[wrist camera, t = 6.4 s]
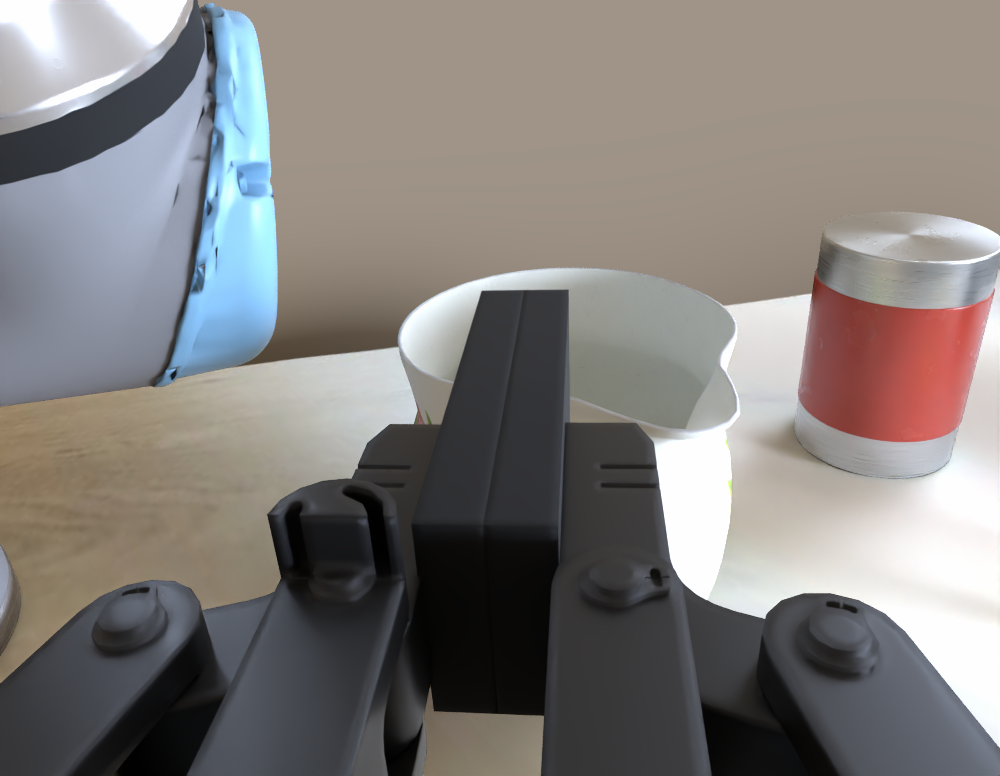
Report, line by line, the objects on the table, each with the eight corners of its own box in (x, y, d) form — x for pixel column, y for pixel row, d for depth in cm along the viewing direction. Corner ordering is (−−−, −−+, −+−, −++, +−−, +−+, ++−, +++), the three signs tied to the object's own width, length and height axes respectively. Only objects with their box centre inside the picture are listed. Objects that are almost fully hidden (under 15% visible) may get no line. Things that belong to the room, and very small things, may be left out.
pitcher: (582, 472, 41) (582, 203, 35) (827, 756, 26) (906, 378, 20) (370, 527, 38) (327, 243, 32) (511, 887, 23) (484, 487, 17)
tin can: (812, 479, 40) (846, 264, 35) (779, 401, 47) (804, 212, 42) (979, 481, 39) (1039, 261, 34) (921, 402, 46) (964, 209, 41)
